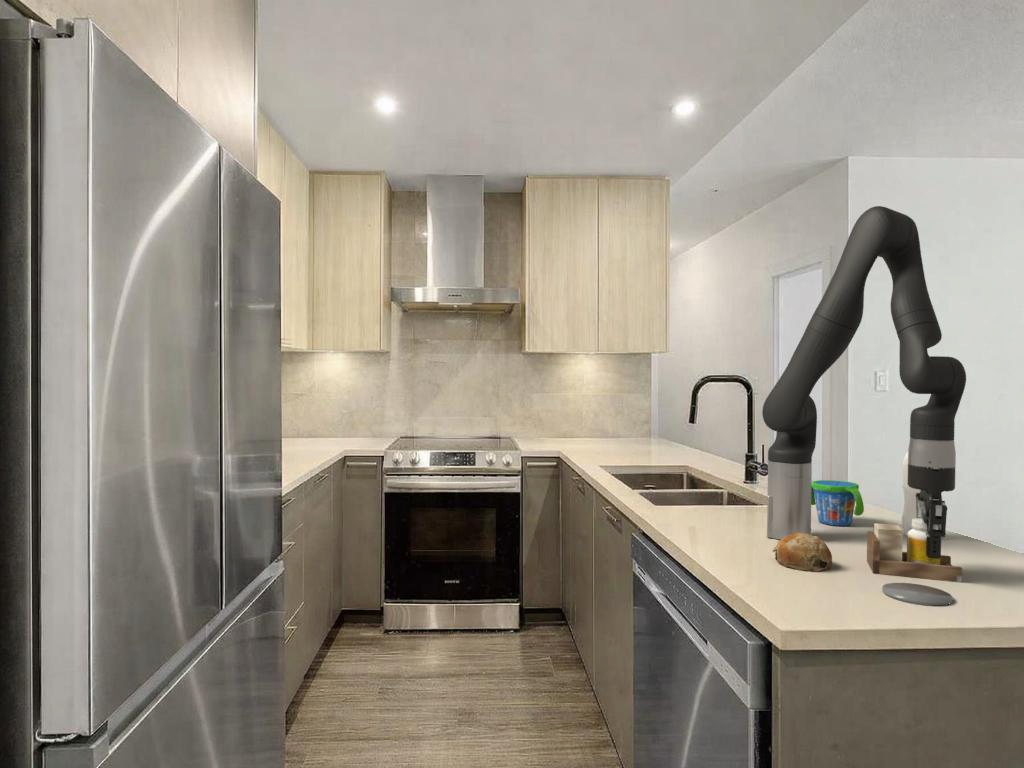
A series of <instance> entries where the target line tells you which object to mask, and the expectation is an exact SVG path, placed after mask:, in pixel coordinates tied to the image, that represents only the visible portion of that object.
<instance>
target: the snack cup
mask: <svg viewBox="0 0 1024 768" xmlns="http://www.w3.org/2000/svg"><path fill="white" fill-rule="evenodd" d="M859 489H860V486H859V484H858V483H856V482H852V481H845V480H833V479H822V480H821V479H818V480H813V481H812V482H811V506H814V505H815V508H816V514H817V519H818V523H821V524H824V525H828V524H829V526H834V525H835V526H836V527H837V526H838V527H842V526H843V527H847V526H849V525H851V524H852V522H853V518H854V517H853V516H854V515H855V516H857V517H858V516H862V515H863V513H864V512H865V511H864V510H865V505H864V502H863V497H862V494H861V492H860V490H859Z"/></svg>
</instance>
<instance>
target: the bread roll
mask: <svg viewBox="0 0 1024 768" xmlns="http://www.w3.org/2000/svg"><path fill="white" fill-rule="evenodd" d="M772 553H775V554H774V556H775V557H774V559H775V561H776V562H777V563H778V565H780V564H781V566H783V567H785V568H789V569H793V570H797V571H805V572H815V573H817V572H820V571H821V572H822V571H825V570H827V569H829V568H830V567H831V566H832V565H833V555H832V552H831V550H830V549H829V547H828V545H827V544H826V543H825V542H824V541H823V540H822V539H821V538H820V537H819V536H816V535H812V534H811V535H810V534H807V533H794V534H791V535H788V536H786V537H784V538H783V539H782V540H780V539H779V540H778V541H777V544H776V545H775V546H774V547H773V549H772Z"/></svg>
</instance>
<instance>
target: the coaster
mask: <svg viewBox="0 0 1024 768" xmlns="http://www.w3.org/2000/svg"><path fill="white" fill-rule="evenodd" d="M881 588H882V589H881V590H882V593H883V594H884V595H885V596H888V597H889V598H892V599H894V600H898V601H901V602H904V603H908V604H913V603H914V604H915V605H919V604H922V605H921V606H927V605H944V606H946V605H945V604H949V603H951V602H952V603H953V596H952V595H951V594H950V593H949V592H947V591H946V590H943V589H939V588H936V587H933V586H928V585H923V584H919V583H912V582H911V583H910V582H889V583H885V584H884V585H882V587H881ZM952 603H951V604H952ZM924 604H925V605H924ZM949 605H950V604H949Z"/></svg>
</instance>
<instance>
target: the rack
mask: <svg viewBox="0 0 1024 768" xmlns="http://www.w3.org/2000/svg"><path fill="white" fill-rule="evenodd" d="M873 525H874V527H873V528H874V531H873V530H867V531H866V534H867V535H866V562H867V564H868V566H869V568H870V570H871V572H872V574H876V575H884V576H885V575H886V576H897V577H904V578H905V577H906V578H915V579H924V578H925V580H934V579H936V580H935V581H944V580H948V581H947V582H954V581H956V582H955V583H963V567H961V566H953V565H952V564H951V563H952V559H951V558H952V556H950V555H945V554H941V557H940V565H935V564H925V563H914V562H907V551H903V533H904V531H903V528H901V527H900V526H899V525H898V524H889V523H888V524H887V523H874V524H873ZM937 579H939V580H937Z"/></svg>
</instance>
